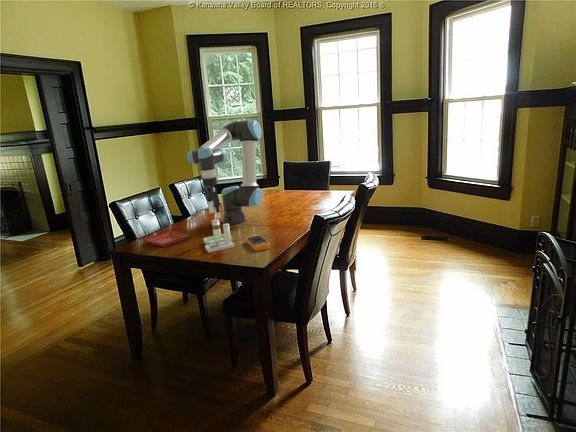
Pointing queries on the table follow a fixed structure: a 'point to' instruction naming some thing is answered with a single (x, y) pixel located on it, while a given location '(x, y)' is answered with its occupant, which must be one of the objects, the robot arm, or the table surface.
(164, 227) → the table surface
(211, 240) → the parts tray
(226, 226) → the fuse
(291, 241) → the table surface
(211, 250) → the fuse panel
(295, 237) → the table surface
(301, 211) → the table surface
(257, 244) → the multimeter
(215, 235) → the fuse
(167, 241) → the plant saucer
